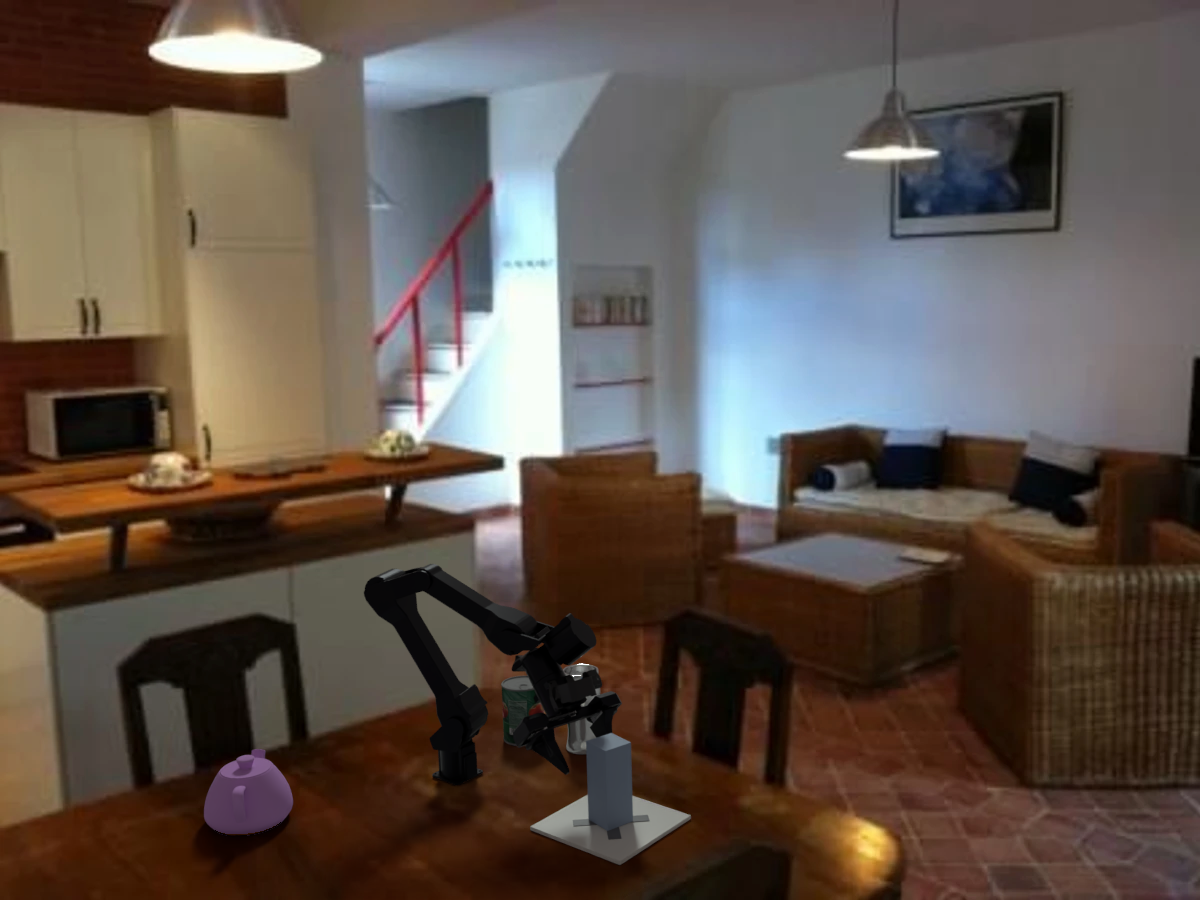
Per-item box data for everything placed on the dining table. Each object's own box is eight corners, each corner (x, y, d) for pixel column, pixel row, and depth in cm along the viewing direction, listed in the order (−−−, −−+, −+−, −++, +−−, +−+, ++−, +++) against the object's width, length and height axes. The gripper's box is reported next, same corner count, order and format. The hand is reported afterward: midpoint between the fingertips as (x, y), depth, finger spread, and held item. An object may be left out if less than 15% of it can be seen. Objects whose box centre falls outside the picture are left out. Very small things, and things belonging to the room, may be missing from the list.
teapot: (302, 787, 194) (298, 728, 192) (285, 843, 174) (280, 778, 172) (219, 794, 192) (215, 734, 190) (193, 851, 172) (187, 785, 171)
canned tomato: (500, 732, 215) (498, 677, 213) (540, 728, 217) (538, 673, 215) (507, 748, 207) (504, 691, 206) (548, 743, 209) (546, 687, 208)
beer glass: (597, 756, 203) (595, 677, 200) (560, 754, 204) (557, 675, 202) (605, 741, 209) (602, 664, 207) (568, 739, 211) (566, 662, 209)
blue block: (588, 819, 177) (586, 741, 175) (613, 810, 180) (611, 732, 178) (607, 830, 173) (605, 751, 171) (633, 821, 176) (631, 742, 174)
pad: (530, 830, 176) (530, 825, 176) (603, 789, 189) (603, 785, 189) (619, 865, 164) (619, 860, 164) (690, 818, 178) (690, 814, 178)
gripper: (520, 669, 175) (563, 758, 168) (613, 644, 187) (658, 727, 179) (495, 703, 183) (535, 790, 175) (586, 677, 194) (627, 758, 187)
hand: (591, 765), depth 179 cm, fingers open, 9 cm apart
